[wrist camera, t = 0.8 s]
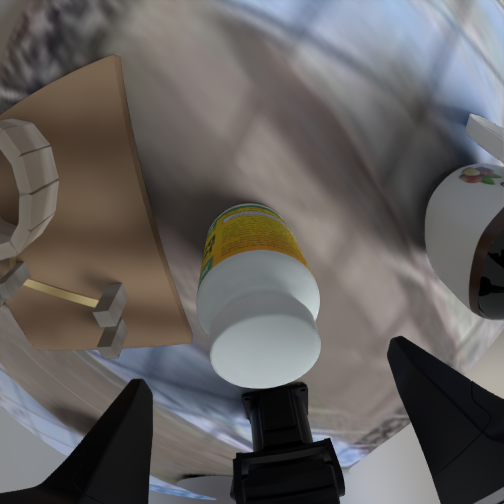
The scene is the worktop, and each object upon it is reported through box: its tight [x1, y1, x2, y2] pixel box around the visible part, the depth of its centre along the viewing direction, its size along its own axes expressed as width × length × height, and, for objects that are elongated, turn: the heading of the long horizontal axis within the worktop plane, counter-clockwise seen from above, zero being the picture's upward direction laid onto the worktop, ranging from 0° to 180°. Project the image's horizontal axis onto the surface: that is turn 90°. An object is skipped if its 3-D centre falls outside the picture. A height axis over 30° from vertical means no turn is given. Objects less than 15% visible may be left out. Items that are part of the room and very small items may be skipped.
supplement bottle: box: [196, 203, 321, 388], centre depth 14 cm, size 5×5×10 cm
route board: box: [0, 54, 193, 359], centre depth 15 cm, size 20×17×4 cm
